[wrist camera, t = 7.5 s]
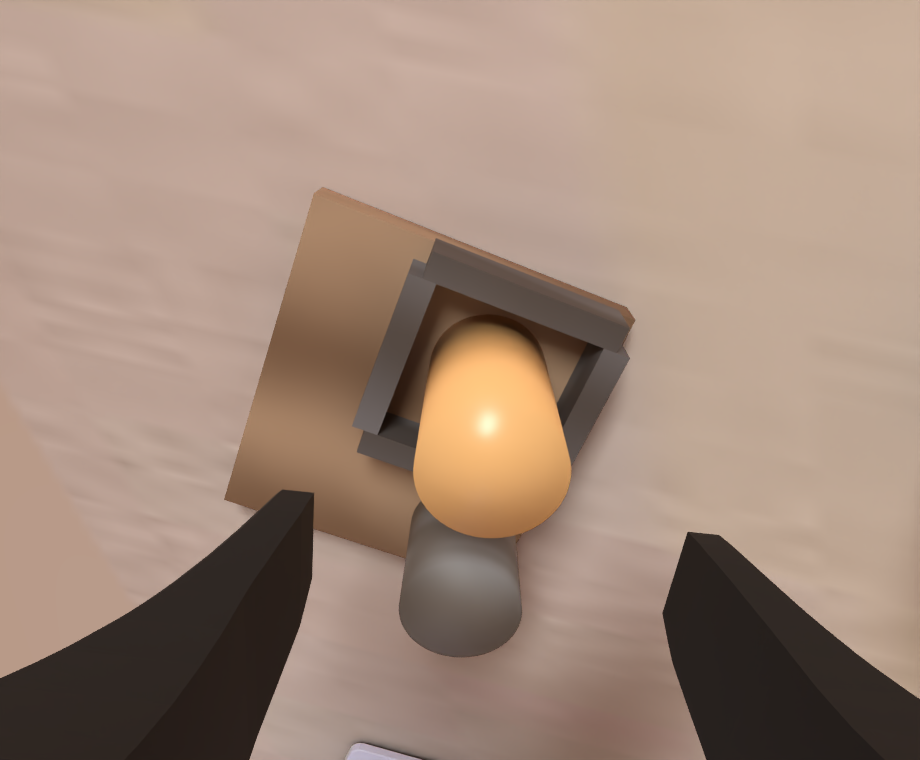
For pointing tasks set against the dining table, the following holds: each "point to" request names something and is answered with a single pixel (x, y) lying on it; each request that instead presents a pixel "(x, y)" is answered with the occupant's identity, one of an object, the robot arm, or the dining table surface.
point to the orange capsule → (490, 431)
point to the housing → (407, 401)
